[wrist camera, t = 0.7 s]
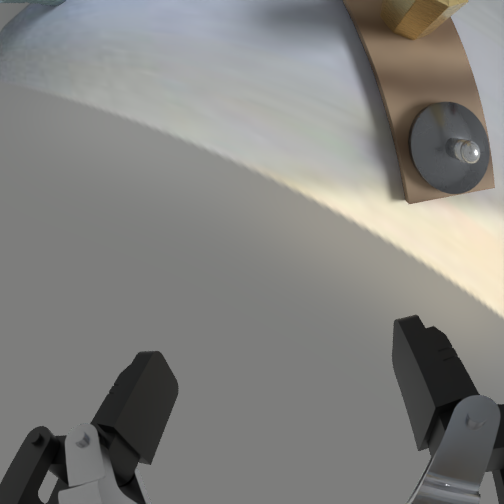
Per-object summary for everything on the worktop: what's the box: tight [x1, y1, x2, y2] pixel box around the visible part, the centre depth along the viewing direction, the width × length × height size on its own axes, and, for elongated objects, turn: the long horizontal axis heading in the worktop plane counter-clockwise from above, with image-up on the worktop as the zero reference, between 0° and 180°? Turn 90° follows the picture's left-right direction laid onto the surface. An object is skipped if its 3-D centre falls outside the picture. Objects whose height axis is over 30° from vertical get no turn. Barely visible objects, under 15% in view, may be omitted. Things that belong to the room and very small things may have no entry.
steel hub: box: [408, 102, 490, 194], centre depth 19 cm, size 9×9×6 cm
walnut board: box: [343, 0, 495, 204], centre depth 19 cm, size 24×11×5 cm, turn 18°
